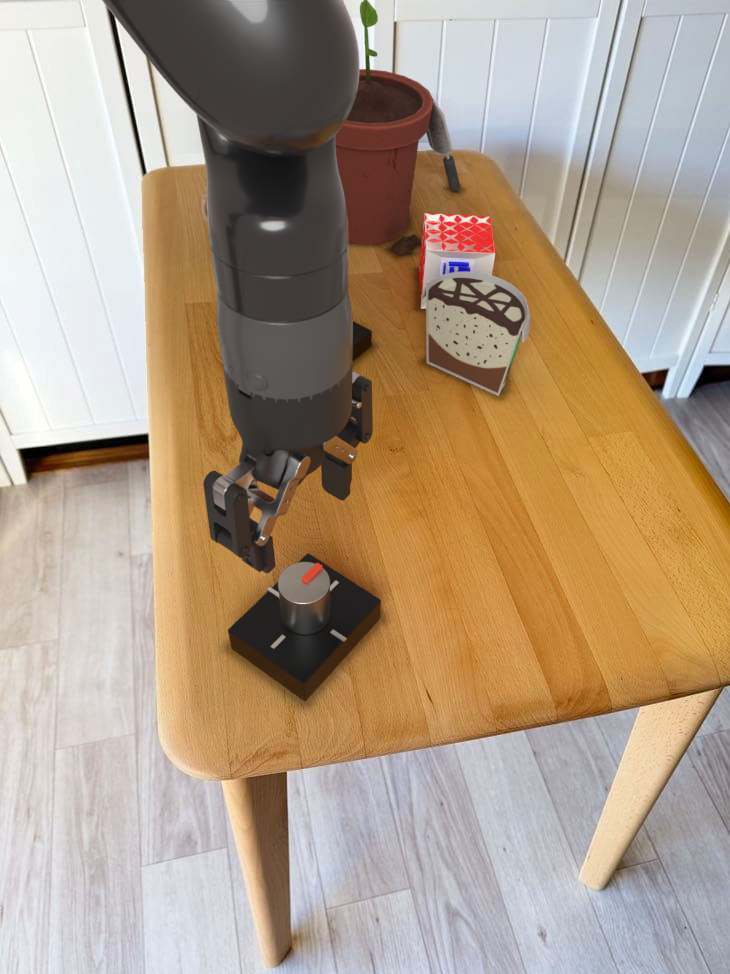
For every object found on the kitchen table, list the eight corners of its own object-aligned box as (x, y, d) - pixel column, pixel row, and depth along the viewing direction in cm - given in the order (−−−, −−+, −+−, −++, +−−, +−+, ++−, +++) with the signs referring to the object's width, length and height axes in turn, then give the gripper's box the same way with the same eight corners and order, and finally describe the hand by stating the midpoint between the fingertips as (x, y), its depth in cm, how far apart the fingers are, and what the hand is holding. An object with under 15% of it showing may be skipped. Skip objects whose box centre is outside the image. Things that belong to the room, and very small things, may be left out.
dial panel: (306, 703, 65) (304, 684, 62) (230, 648, 68) (226, 627, 65) (381, 619, 70) (382, 599, 68) (308, 572, 73) (306, 550, 70)
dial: (308, 643, 65) (307, 610, 61) (271, 617, 66) (266, 583, 62) (340, 610, 67) (340, 576, 63) (303, 585, 68) (300, 551, 64)
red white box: (481, 274, 103) (490, 216, 97) (485, 311, 99) (495, 253, 92) (418, 271, 103) (423, 212, 97) (420, 308, 98) (425, 249, 92)
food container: (536, 372, 92) (554, 296, 84) (510, 401, 89) (527, 325, 81) (442, 331, 96) (452, 255, 88) (415, 357, 92) (422, 281, 84)
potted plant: (307, 182, 115) (300, -23, 95) (459, 187, 117) (482, -14, 97) (304, 253, 104) (296, 37, 84) (472, 257, 106) (502, 47, 86)
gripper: (315, 271, 52) (321, 450, 65) (149, 387, 44) (192, 564, 57) (411, 317, 49) (397, 494, 62) (253, 449, 42) (274, 619, 55)
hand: (299, 527), depth 60 cm, fingers open, 8 cm apart
